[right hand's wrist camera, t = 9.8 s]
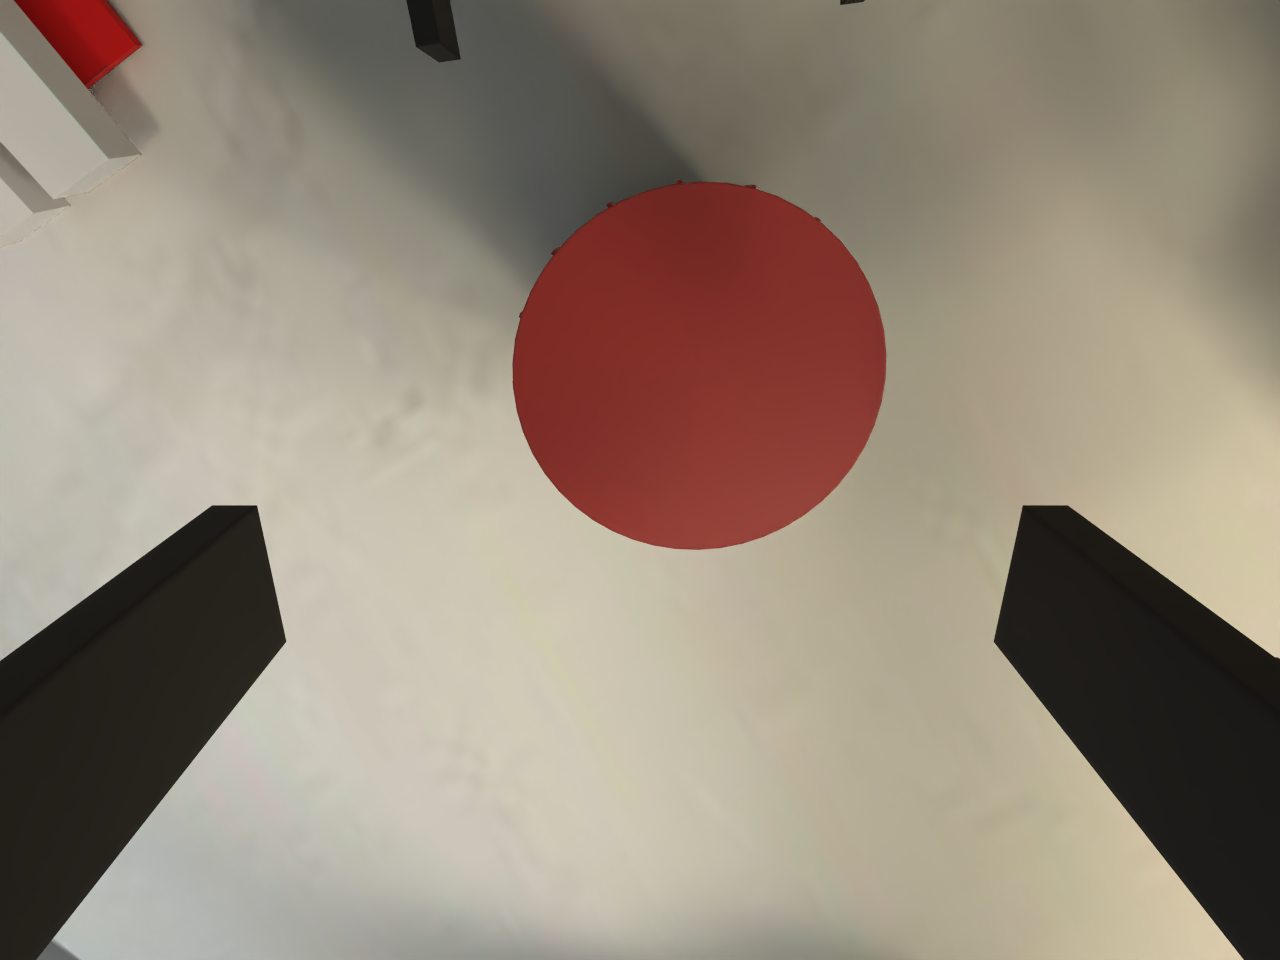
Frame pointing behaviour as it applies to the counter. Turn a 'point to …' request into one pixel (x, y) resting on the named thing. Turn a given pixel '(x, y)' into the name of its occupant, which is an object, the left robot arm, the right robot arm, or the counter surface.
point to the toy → (56, 107)
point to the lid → (699, 365)
